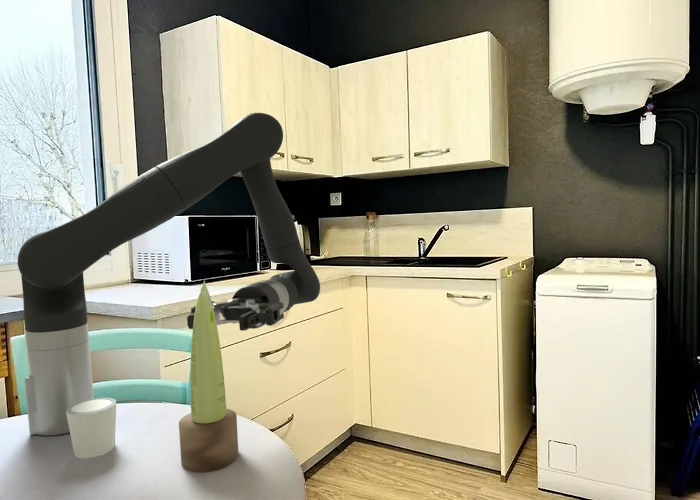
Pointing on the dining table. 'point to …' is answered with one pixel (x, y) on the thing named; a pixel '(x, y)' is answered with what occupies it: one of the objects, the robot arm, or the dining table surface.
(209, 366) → the tube
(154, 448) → the dining table surface
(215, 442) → the walnut block
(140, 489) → the dining table surface
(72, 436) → the white cup
